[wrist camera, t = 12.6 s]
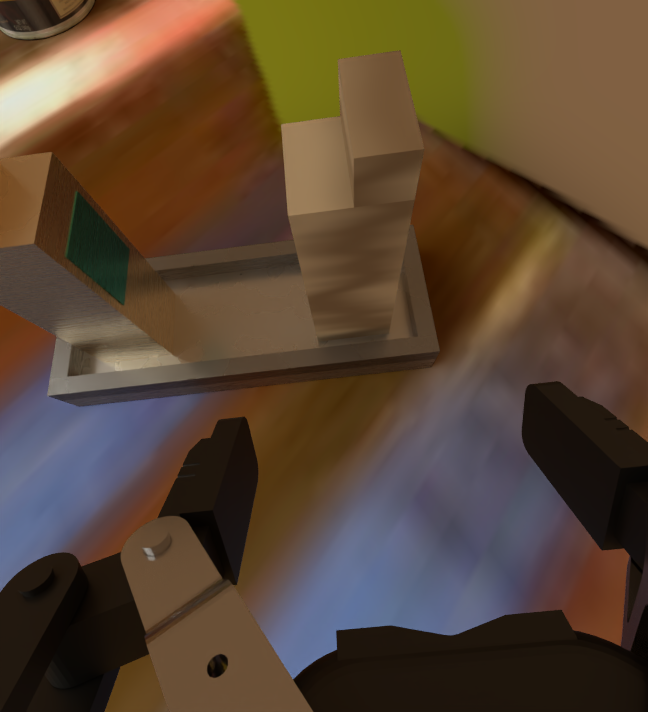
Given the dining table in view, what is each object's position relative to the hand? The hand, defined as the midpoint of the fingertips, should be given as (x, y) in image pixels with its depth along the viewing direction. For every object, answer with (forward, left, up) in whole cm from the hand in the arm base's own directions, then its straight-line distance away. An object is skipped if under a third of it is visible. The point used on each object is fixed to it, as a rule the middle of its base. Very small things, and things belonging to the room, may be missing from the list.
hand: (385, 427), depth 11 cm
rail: (-11, -2, -12) cm, 16 cm away
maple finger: (-8, +4, -10) cm, 14 cm away
